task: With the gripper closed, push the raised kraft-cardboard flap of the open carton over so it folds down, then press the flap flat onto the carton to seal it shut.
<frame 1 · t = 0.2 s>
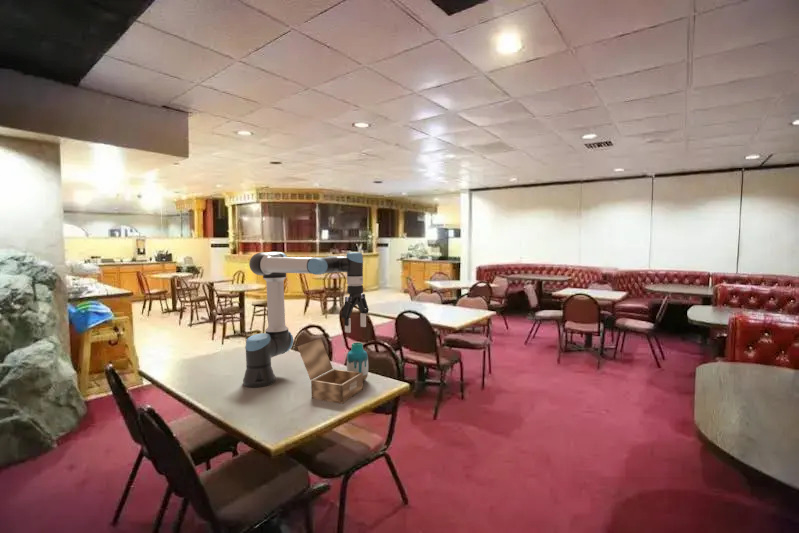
hand: (355, 329, 191), 28 cm above the table, fingers open, 13 cm apart
vase: (357, 381, 201), on the table
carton: (338, 393, 184), on the table
flap: (315, 358, 188), point 15 cm above the table, hinge at 115.0°
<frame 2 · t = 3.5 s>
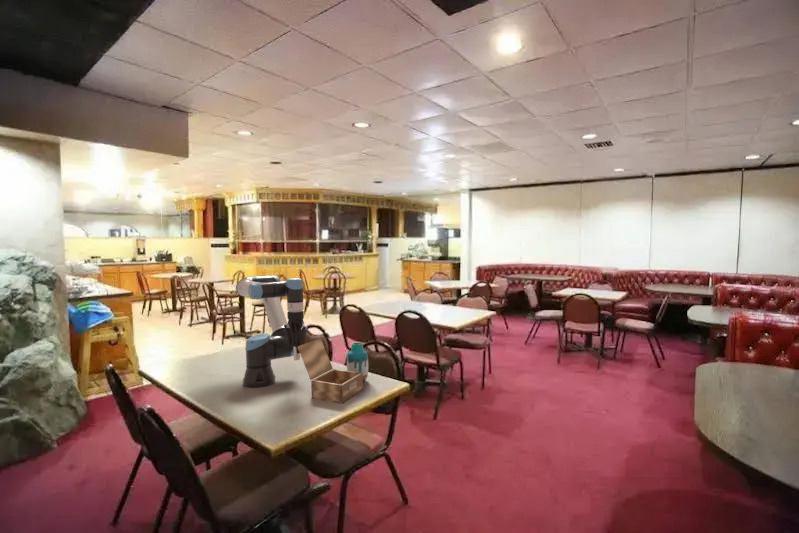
hand: (296, 359, 193), 13 cm above the table, fingers closed
nothing on the table moved.
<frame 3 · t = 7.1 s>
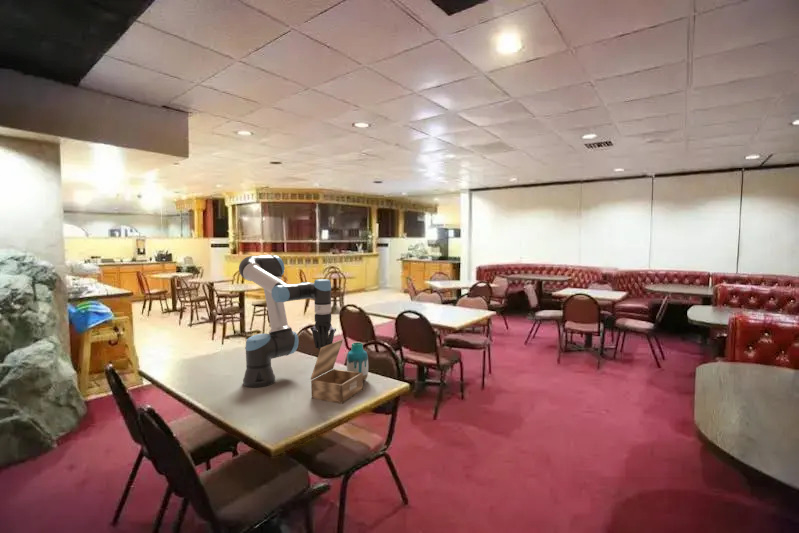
hand: (323, 363, 187), 13 cm above the table, fingers closed
flap: (327, 358, 186), point 16 cm above the table, hinge at 67.8°, touching gripper
everything else where it was.
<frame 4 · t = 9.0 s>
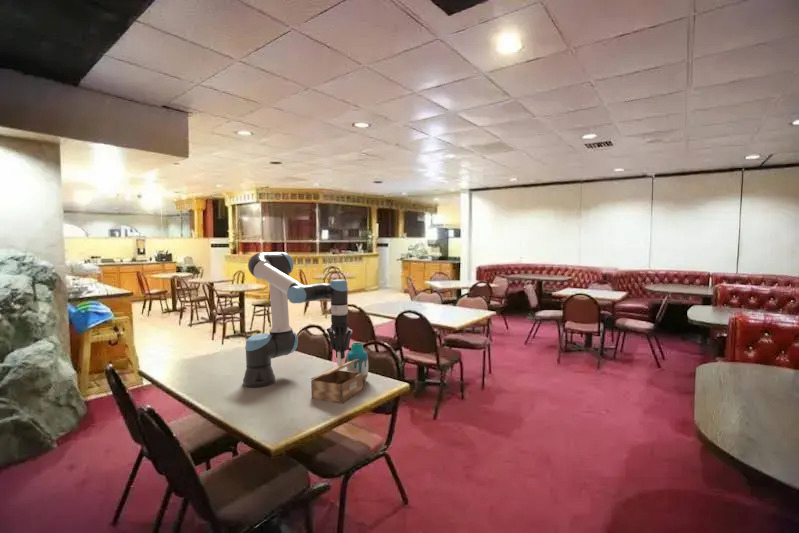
hand: (340, 365, 183), 13 cm above the table, fingers closed
flap: (335, 368, 184), point 12 cm above the table, hinge at 22.4°, touching gripper
everything else where it was.
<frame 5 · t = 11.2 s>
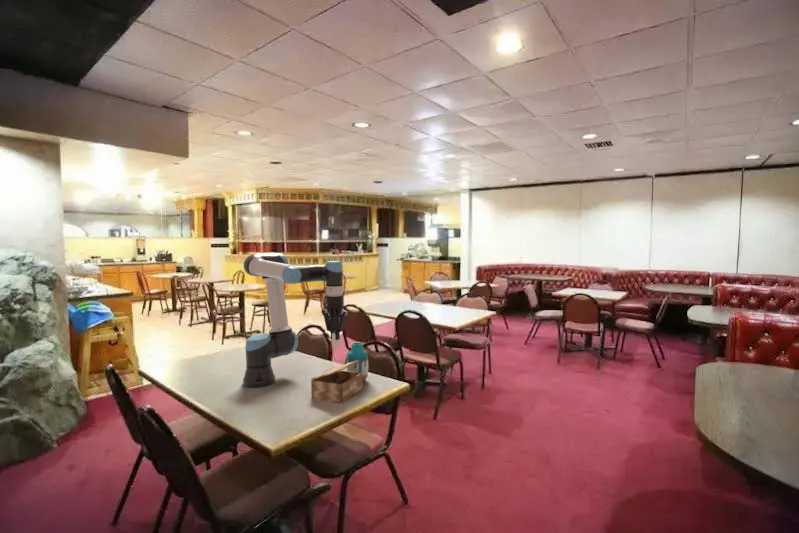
hand: (335, 346, 184), 22 cm above the table, fingers closed
flap: (335, 369, 184), point 11 cm above the table, hinge at 20.1°
everything else where it was.
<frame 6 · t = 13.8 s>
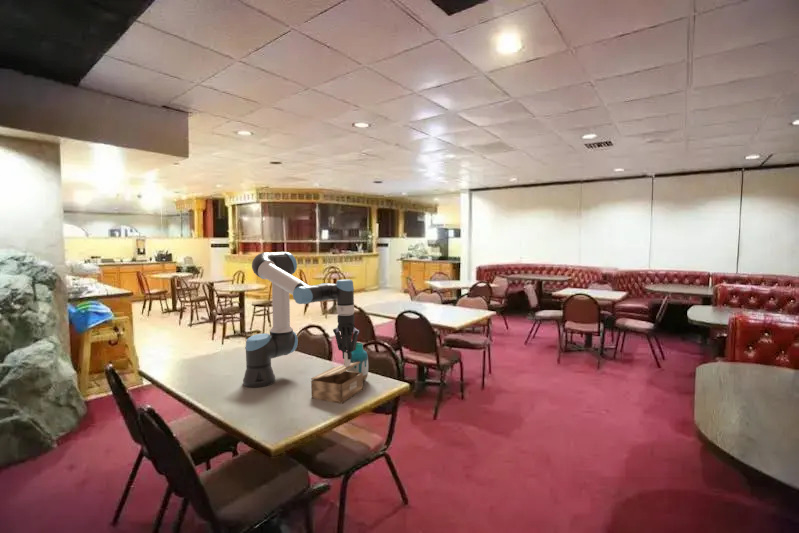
hand: (347, 366, 181), 14 cm above the table, fingers closed
flap: (336, 370, 184), point 11 cm above the table, hinge at 16.9°, touching gripper
everything else where it was.
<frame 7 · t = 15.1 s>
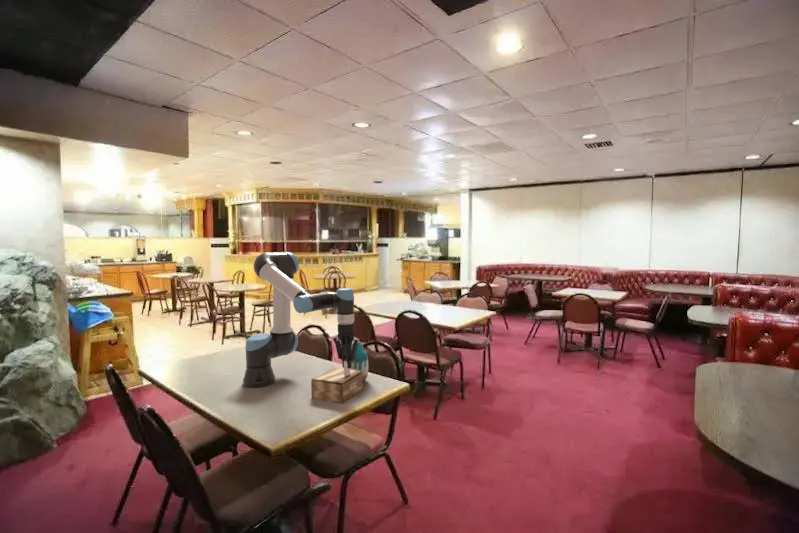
hand: (347, 374, 182), 10 cm above the table, fingers closed
flap: (337, 374, 184), point 9 cm above the table, hinge at 1.7°, touching gripper
everything else where it was.
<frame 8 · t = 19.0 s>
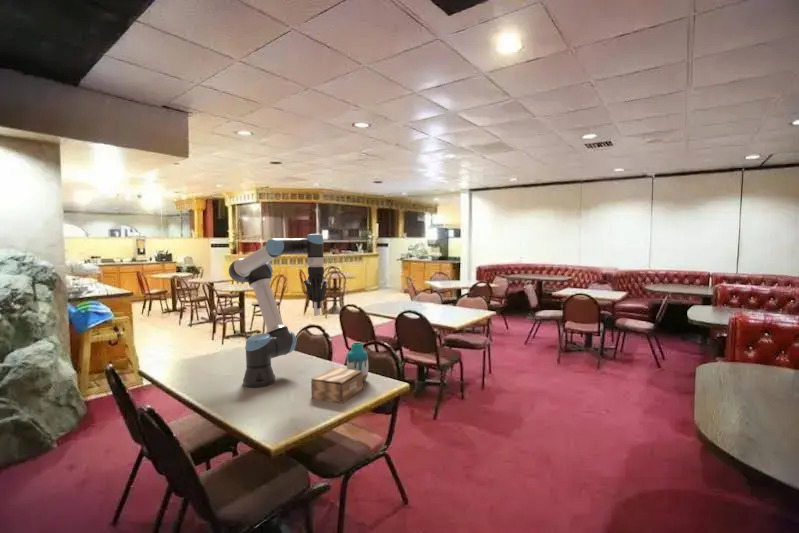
hand: (316, 315, 194), 34 cm above the table, fingers closed
flap: (337, 375, 184), point 9 cm above the table, hinge at 1.5°
everything else where it was.
at the end: flap at +2° (first picture: +115°); flap touching nothing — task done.
